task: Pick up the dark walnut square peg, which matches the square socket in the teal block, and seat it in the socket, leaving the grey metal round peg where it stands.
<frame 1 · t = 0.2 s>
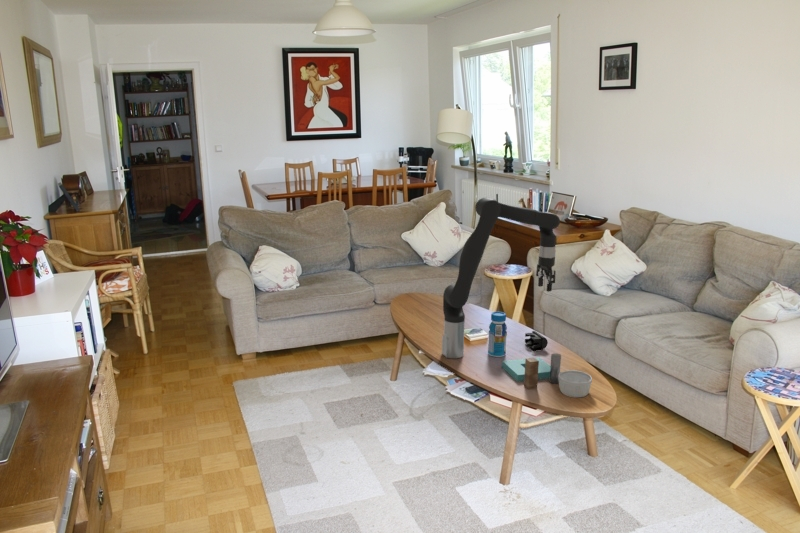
hand: (544, 288, 315), 29 cm above the table, tool pointing down, fingers open, 8 cm apart
ramekin: (573, 392, 273), on the table
socket block: (528, 372, 292), on the table
beverage bottle: (496, 354, 312), on the table
square peg: (530, 386, 277), on the table
round peg: (554, 381, 282), on the table
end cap: (535, 347, 321), on the table
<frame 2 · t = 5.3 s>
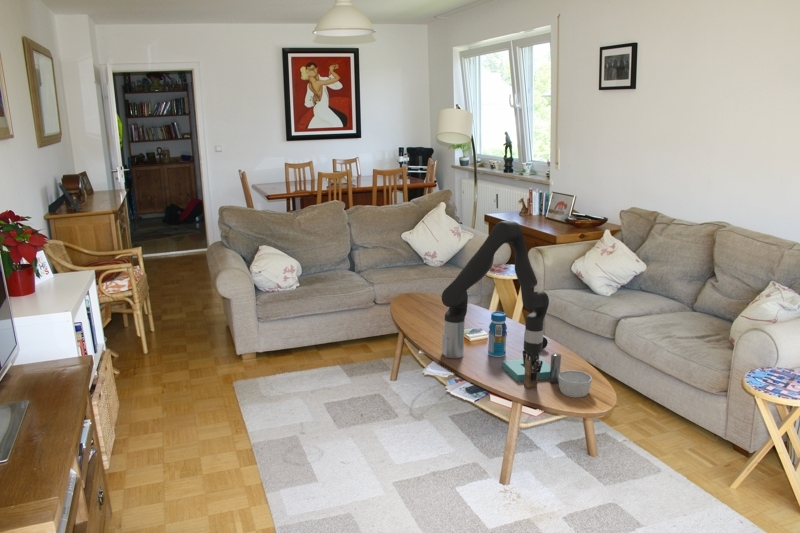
hand: (531, 378, 276), 4 cm above the table, tool pointing down, fingers closed on square peg, 4 cm apart
square peg: (530, 386, 277), on the table, touching gripper
everything else where it was.
when the fingers open (5 cm above the table, at t = 11.5 s): square peg drops 1 cm, resting in socket block.
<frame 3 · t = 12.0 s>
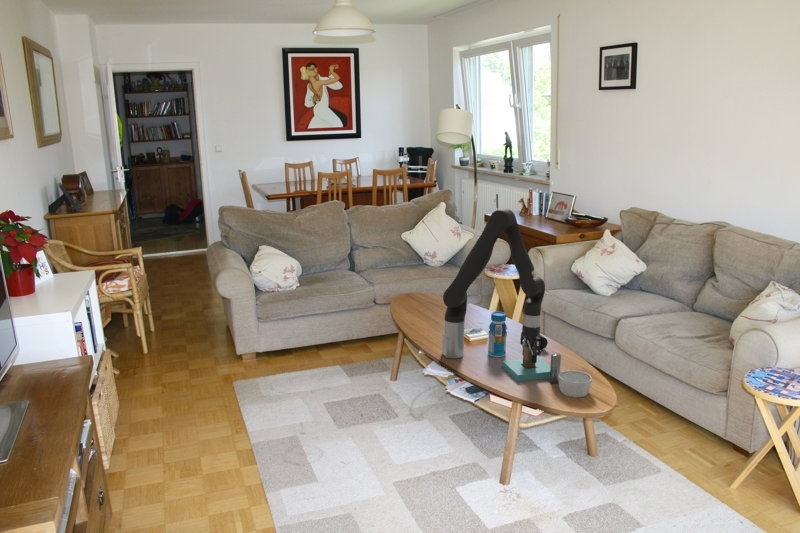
hand: (529, 359, 290), 6 cm above the table, tool pointing down, fingers open, 8 cm apart
square peg: (528, 372, 292), resting in socket block
everything else where it was.
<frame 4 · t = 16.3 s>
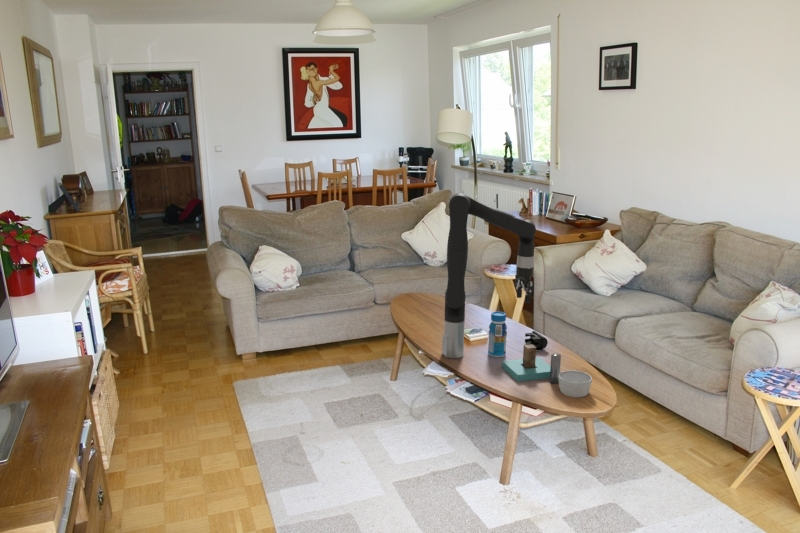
hand: (523, 300, 299), 28 cm above the table, tool pointing down, fingers open, 8 cm apart
nothing on the table moved.
at the end: square peg 0.2 cm off-centre on the socket block, point 0.0 cm above the socket block's base; square peg tilted 0°; round peg moved 0.0 cm from its start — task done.
